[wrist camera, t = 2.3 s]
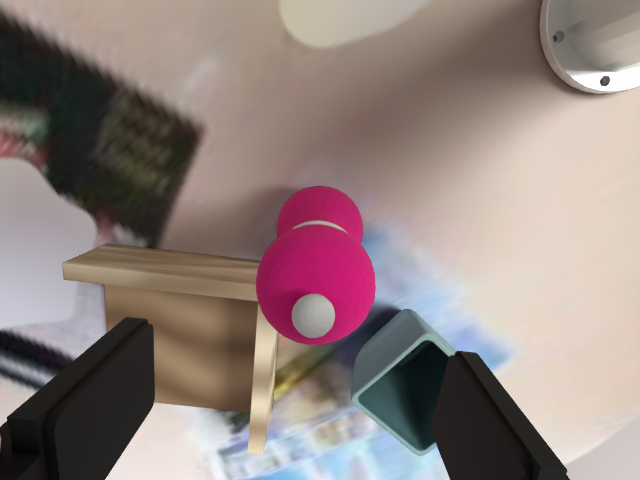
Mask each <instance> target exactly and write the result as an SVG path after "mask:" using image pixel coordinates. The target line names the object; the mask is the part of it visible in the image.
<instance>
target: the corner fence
mask: <svg viewBox="0 0 640 480" xmlns="http://www.w3.org/2000/svg"><path fill="white" fill-rule="evenodd" d="M258 267H259V264H258V263H249V262H240V261H232V260H223V259H214V258H205V257H196V256H187V255H178V254H169V253H161V252H152V251H143V250H134V249H125V248H116V247H107V246H100V247H98V248H95V249H93V250H91V251H89V252H86V253H84V254H82V255H79V256H77V257H75V258H72V259H70V260H68V261H66V262H63V263H62V268H63V277H64V280H71V281H80V282H89V283H98V284H107V285H116V286H125V287H134V288H143V289H152V290H161V291H170V292H179V293H188V294H197V295H206V296H215V297H224V298H233V299H242V300H251V301H258V299H257V294H256V276H257V271H258ZM278 333H279V332H278V331H276V330H275V329H274V328H273V327H272V326H271V324H270V323H269V322H268V321H267V320H266V318H265V316H264V315H263V313H262V311H261V308H260V306H259V303H258V314H257V329H256V343H255V358H254V372H253V387H252V402H251V416H250V431H249V445H248V453H255V454H263V453H264V448H265V443H266V438H267V433H268V428H269V423H270V418H271V412H272V401H273V389H274V378H275V367H276V356H277V345H278Z"/></svg>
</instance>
